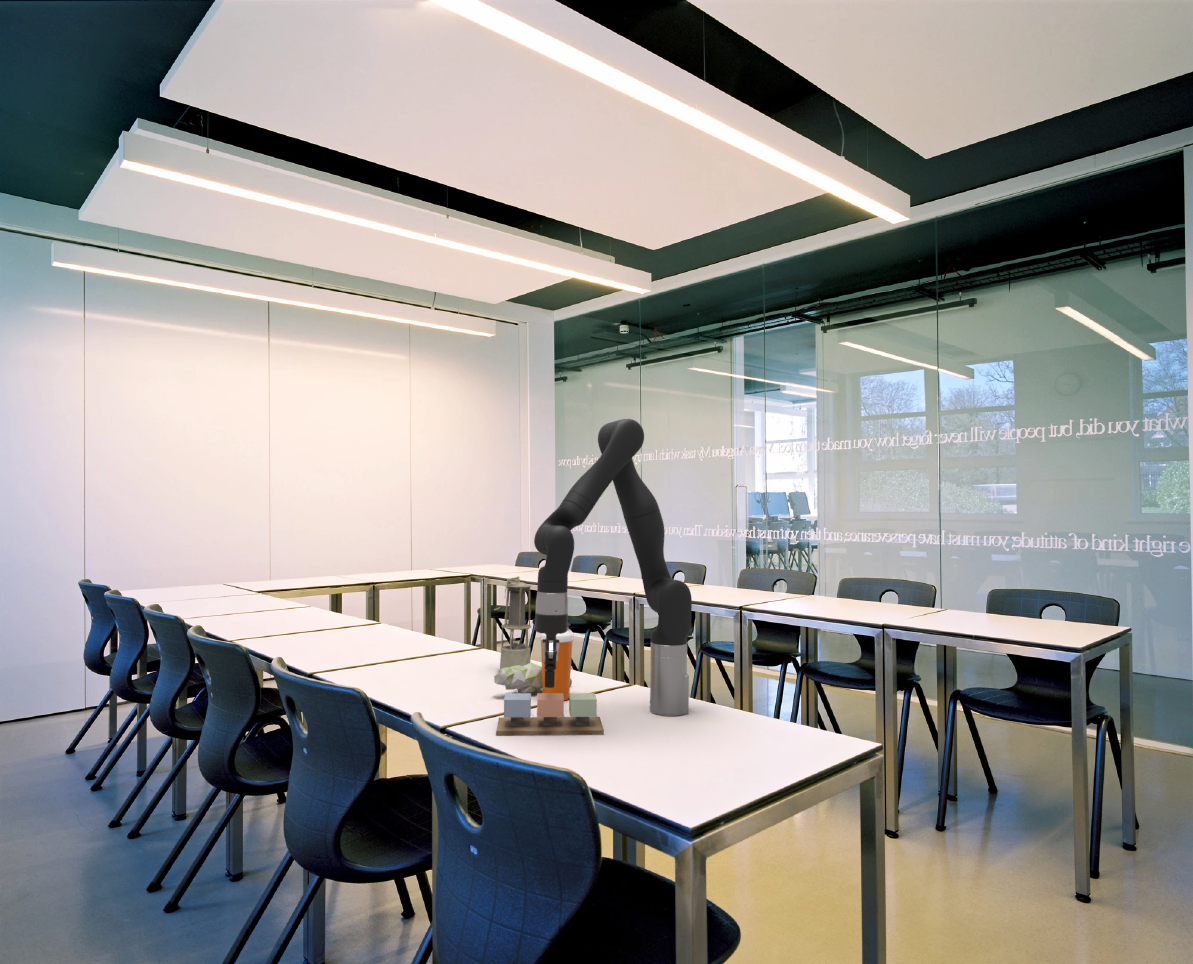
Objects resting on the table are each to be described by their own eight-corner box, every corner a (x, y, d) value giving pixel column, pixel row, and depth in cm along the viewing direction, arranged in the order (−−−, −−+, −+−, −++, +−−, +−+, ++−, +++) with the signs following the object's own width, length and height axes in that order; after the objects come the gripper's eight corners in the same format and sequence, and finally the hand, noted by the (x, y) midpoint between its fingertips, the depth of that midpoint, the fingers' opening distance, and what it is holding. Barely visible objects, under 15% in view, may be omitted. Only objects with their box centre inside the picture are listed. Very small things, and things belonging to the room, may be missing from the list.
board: (599, 721, 175) (599, 708, 175) (603, 734, 164) (604, 721, 164) (498, 721, 173) (499, 708, 173) (496, 735, 162) (496, 721, 162)
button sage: (594, 709, 172) (594, 693, 172) (596, 716, 166) (596, 699, 166) (569, 710, 172) (569, 693, 172) (570, 716, 166) (570, 699, 166)
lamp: (538, 673, 226) (540, 576, 228) (504, 679, 217) (506, 578, 219) (517, 668, 234) (519, 574, 235) (484, 674, 225) (486, 576, 226)
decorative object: (556, 680, 214) (483, 673, 199) (574, 660, 211) (501, 650, 196) (565, 706, 208) (491, 700, 193) (584, 685, 204) (509, 677, 189)
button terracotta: (562, 710, 172) (563, 693, 172) (563, 717, 166) (563, 699, 166) (537, 710, 171) (537, 693, 171) (537, 717, 165) (537, 699, 165)
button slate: (530, 710, 171) (531, 693, 171) (530, 717, 165) (530, 699, 165) (504, 710, 171) (505, 693, 171) (503, 717, 165) (504, 699, 165)
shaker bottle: (567, 703, 191) (569, 626, 192) (535, 701, 192) (536, 624, 193) (575, 695, 199) (576, 621, 200) (544, 693, 201) (545, 620, 202)
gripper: (569, 615, 163) (566, 694, 162) (566, 608, 177) (564, 680, 176) (535, 614, 163) (532, 693, 162) (535, 607, 176) (533, 680, 175)
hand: (549, 686), depth 169 cm, fingers closed
